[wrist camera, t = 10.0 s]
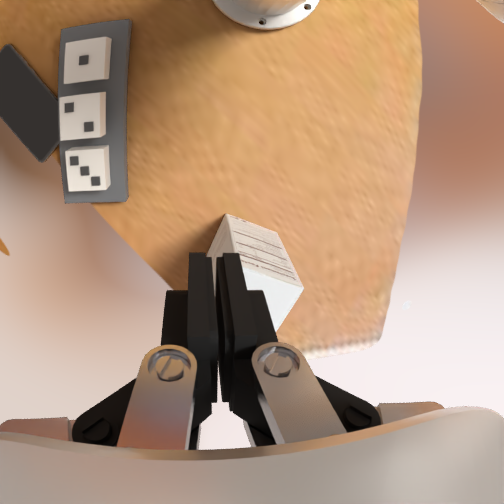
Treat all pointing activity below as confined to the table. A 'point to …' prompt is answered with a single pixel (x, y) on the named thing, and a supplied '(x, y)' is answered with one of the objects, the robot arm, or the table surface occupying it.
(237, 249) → the supplement box
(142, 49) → the table surface
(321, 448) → the robot arm
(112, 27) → the button board
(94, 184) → the tile three
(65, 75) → the tile one
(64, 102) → the tile two
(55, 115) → the smartphone
